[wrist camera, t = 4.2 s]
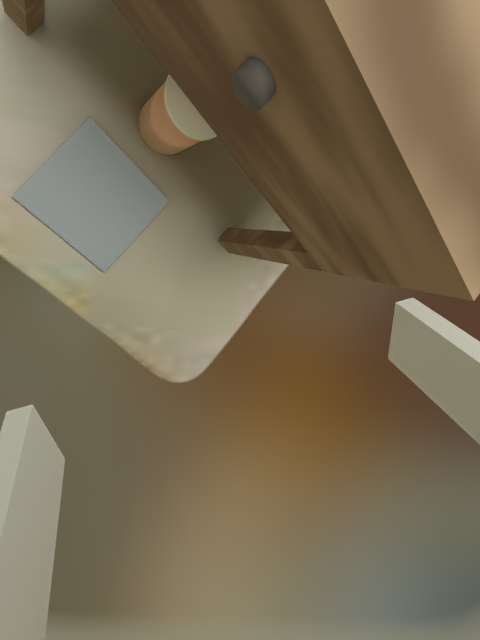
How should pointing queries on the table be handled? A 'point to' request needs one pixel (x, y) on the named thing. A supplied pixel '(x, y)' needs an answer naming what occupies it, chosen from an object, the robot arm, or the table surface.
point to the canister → (172, 121)
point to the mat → (92, 195)
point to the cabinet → (337, 125)
